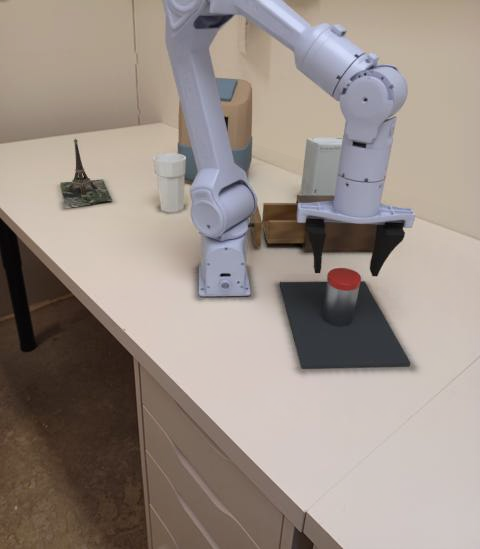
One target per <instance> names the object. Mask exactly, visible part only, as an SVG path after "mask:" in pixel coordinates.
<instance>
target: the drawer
mask: <svg viewBox="0 0 480 549" xmlns="http://www.w3.org/2000/svg"><path fill="white" fill-rule="evenodd" d="M297 207H298V203H296V202H263V204H262V216H261V213H260V208H259V205H258V204H257V209H256V211H255V213H254V214H253V215H252V216H251V217H249V225H248V228H250V233H251V237H252V242H253V247H261V246H262V232H264V235H265V239H266V242H267V244H301V243H305V234H306V226H305V223H299V222H297Z"/></svg>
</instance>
